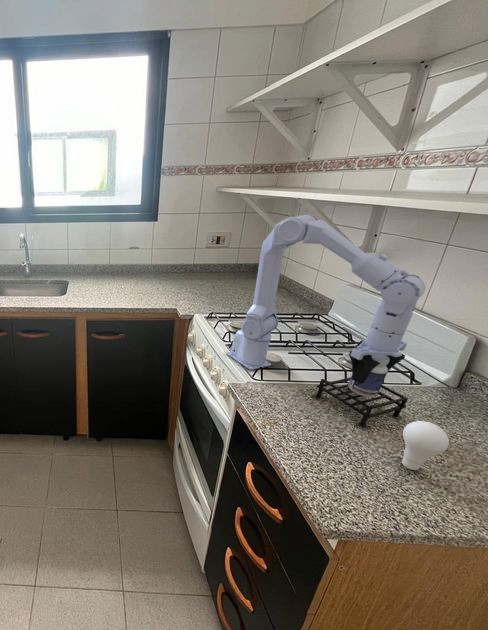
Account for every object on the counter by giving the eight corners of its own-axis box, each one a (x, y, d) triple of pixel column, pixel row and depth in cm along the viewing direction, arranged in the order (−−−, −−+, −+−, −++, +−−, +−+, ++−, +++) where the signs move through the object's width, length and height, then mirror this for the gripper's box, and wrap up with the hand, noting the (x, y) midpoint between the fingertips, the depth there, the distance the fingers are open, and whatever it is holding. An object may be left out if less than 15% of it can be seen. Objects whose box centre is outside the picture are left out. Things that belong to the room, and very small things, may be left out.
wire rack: (313, 395, 90) (319, 378, 88) (348, 387, 93) (354, 370, 91) (363, 428, 79) (372, 409, 77) (400, 417, 82) (410, 398, 80)
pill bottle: (383, 398, 82) (399, 362, 77) (358, 397, 82) (374, 362, 78) (364, 383, 87) (379, 349, 83) (341, 383, 87) (355, 349, 83)
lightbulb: (388, 451, 73) (408, 410, 68) (427, 466, 69) (452, 423, 65) (388, 469, 69) (410, 426, 64) (431, 486, 65) (457, 442, 61)
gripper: (384, 341, 72) (361, 394, 77) (431, 331, 76) (406, 383, 81) (350, 327, 78) (331, 377, 84) (395, 319, 82) (374, 367, 87)
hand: (366, 379), depth 83 cm, fingers closed on pill bottle, 5 cm apart
